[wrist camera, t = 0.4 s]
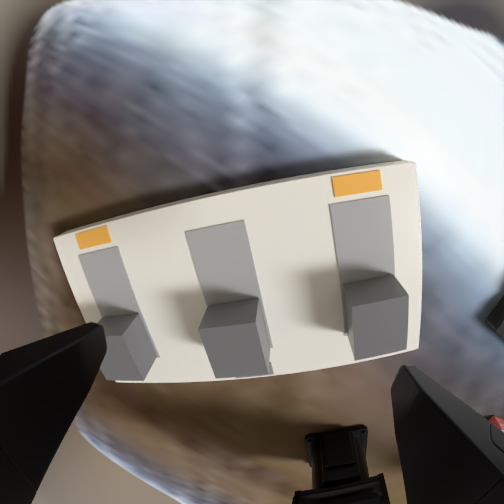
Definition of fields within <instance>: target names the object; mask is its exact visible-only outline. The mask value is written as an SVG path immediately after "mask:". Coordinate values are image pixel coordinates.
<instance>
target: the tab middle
mask: <svg viewBox="0 0 504 504" xmlns="http://www.w3.org/2000/svg"><path fill="white" fill-rule="evenodd" d="M198 331H199V334H200V337H201V340H202V342H203V345H204V348H205V351H206V354H207V356H208V359H209V362H210V365H211V367H212V370H213V373H214V375H215V378H230V377H242V376H253V375H262V374H268V372H269V358H270V343H269V339H268V334H267V330H266V326H265V321H264V317H263V313H262V308H261V304H260V300H259V298H255V299H248V300H241V301H234V302H227V303H220V304H213V305H208V307H207V309H206V311H205V314H204V316H203V318H202V321H201V323H200V325H199V328H198Z"/></svg>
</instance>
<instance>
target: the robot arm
mask: <svg viewBox="0 0 504 504" xmlns="http://www.w3.org/2000/svg"><path fill="white" fill-rule="evenodd" d="M106 352H107V343H106V337H105V331H104V327H103V325H101V324H98V323H94V322H89V323H86V324H83V325H81V326H78V327H75V328H72V329H69V330H67V331H64V332H61V333H58V334H55V335H53V336H50V337H47V338H44V339H42V340H39V341H36V342H33V343H30V344H27V345H24V346H21V347H19V348H16V349H13V350H10V351H8V352H4V353H2V354H1V355H0V504H31V503H32V501H33V499H34V497H35V494H36V491H37V490H38V488H39V486H40V484H41V482H42V480H43V477H44V475H45V473H46V471H47V469H48V467H49V465H50V463H51V461H52V459H53V457H54V455H55V453H56V452H57V450H58V448H59V446H60V444H61V442H62V440H63V438H64V436H65V434H66V433H67V431H68V429H69V427H70V425H71V423H72V421H73V420H74V418H75V416H76V414H77V412H78V411H79V409H80V407H81V405H82V403H83V402H84V400H85V398H86V396H87V394H88V393H89V391H90V389H91V387H92V384H93V382H94V380H95V377H96V375H97V373H98V371H99V368H100V366H101V364H102V362H103V359H104V357H105V355H106ZM391 398H392V407H393V417H394V427H395V435H396V441H397V446H398V451H399V456H400V462H401V467H402V473H403V479H404V485H405V492H406V498H407V504H504V432H503V431H501V430H500V429H499V428H497V427H496V426H495V425H493V424H492V423H490V422H489V421H488V420H487V419H485V418H484V417H483V416H481V415H480V414H479V413H477V412H476V411H475V410H473V409H472V408H471V407H469V406H468V405H467V404H465V403H464V402H463V401H461V400H460V399H459V398H457V397H456V396H455V395H453V394H452V393H451V392H449V391H448V390H447V389H445V388H444V387H443V386H441V385H440V384H439V383H437V382H436V381H435V380H433V379H432V378H431V377H429V376H428V375H427V374H425V373H424V372H423V371H421V370H420V369H419V368H417V367H416V366H414V365H402V366H401V367H400V369H399V371H398V373H397V375H396V377H395V380H394V382H393V384H392V387H391ZM367 435H368V429H367V427H366V426H361V427H356V428H350V429H345V430H339V431H333V432H326V433H319V434H312V435H307V436H306V437H305V443H306V448H307V454H308V459H309V465H310V467H312V488H313V489H311V490H305V491H301V490H299V491H295V495H294V497H293V501H292V504H390V501H389V497H388V492H387V488H386V484H385V479H384V475H383V473H381V474H378V475H377V476H373V477H369V473H368V467H367V462H366V448H367Z"/></svg>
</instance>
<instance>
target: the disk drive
mask: <svg viewBox="0 0 504 504" xmlns="http://www.w3.org/2000/svg"><path fill="white" fill-rule="evenodd" d="M486 322H487V323H488V324H489V325H490V326H491V327H492V329H493V330H494V331H495V332H496V333H498V334H499V335H500V337H501V338H502V339H503V340H504V296H503V297H502V299H501V300H500V301H499V303H498V304H497V306H496V307H495V309H494V310H493V311H492V313H491V314H490V315H489V317H488V318H487V319H486Z"/></svg>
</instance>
